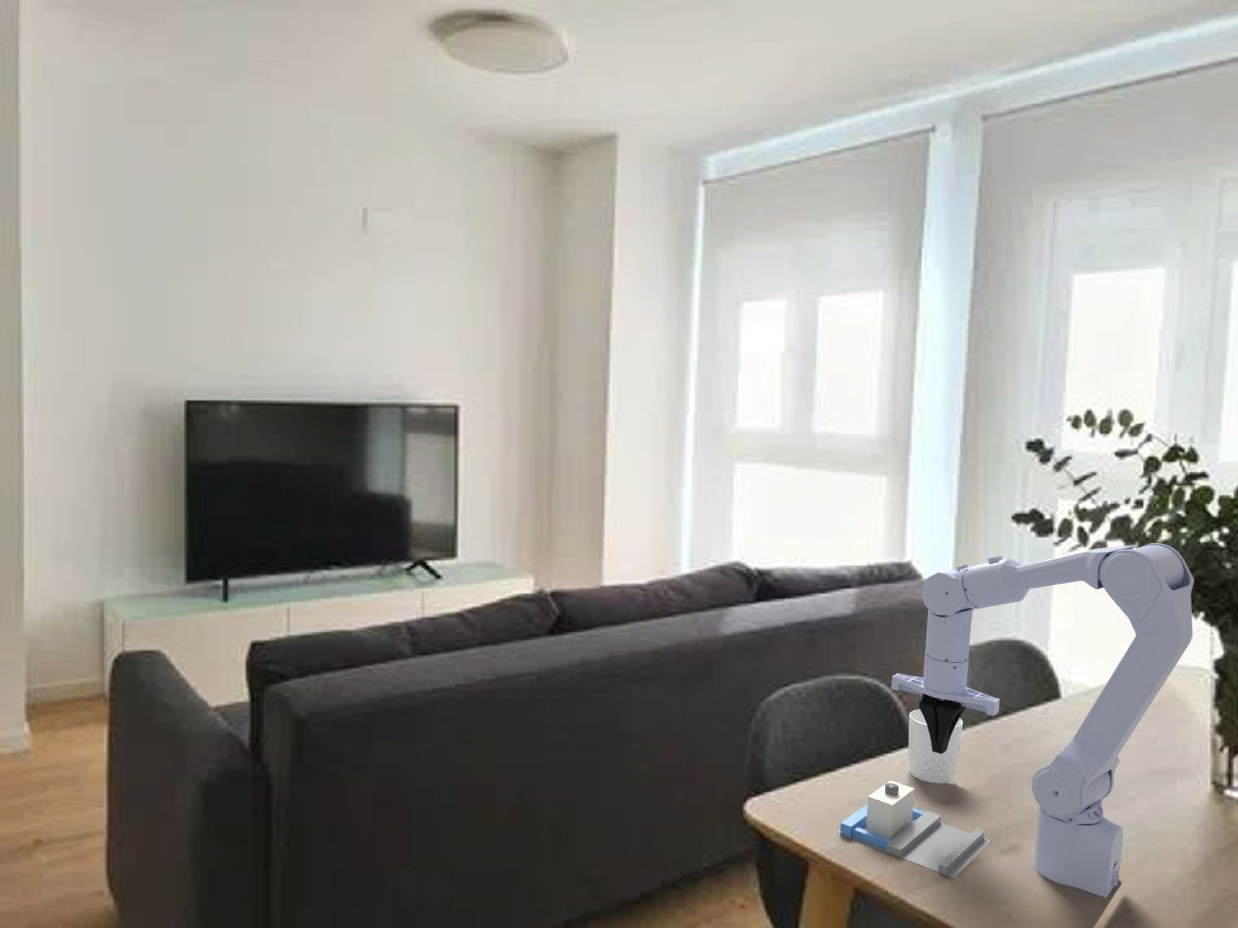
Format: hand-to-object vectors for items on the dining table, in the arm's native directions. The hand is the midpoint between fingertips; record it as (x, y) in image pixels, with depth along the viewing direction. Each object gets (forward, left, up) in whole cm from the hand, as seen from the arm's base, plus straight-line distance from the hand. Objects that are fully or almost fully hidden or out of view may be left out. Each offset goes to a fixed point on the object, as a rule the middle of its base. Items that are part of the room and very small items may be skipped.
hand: (939, 750), depth 130 cm
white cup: (+6, -13, -11) cm, 18 cm away
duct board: (-1, +8, -10) cm, 13 cm away
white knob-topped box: (+3, +8, -9) cm, 13 cm away
